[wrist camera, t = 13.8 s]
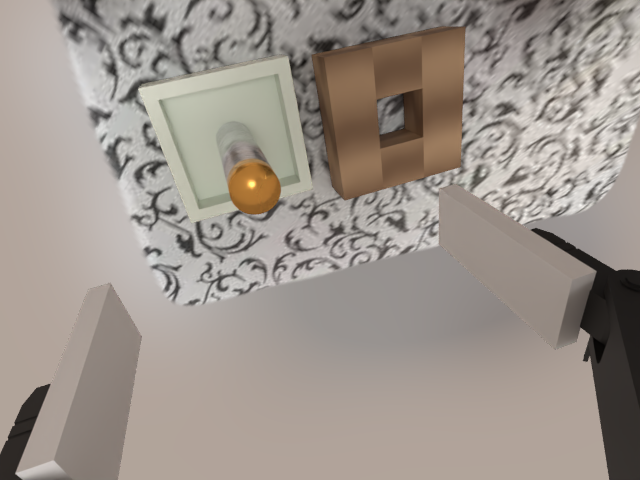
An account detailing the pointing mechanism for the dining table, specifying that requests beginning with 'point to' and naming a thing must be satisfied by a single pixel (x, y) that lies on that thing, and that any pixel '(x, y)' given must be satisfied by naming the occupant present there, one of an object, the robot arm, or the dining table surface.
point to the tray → (214, 111)
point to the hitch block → (419, 109)
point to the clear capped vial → (246, 170)
